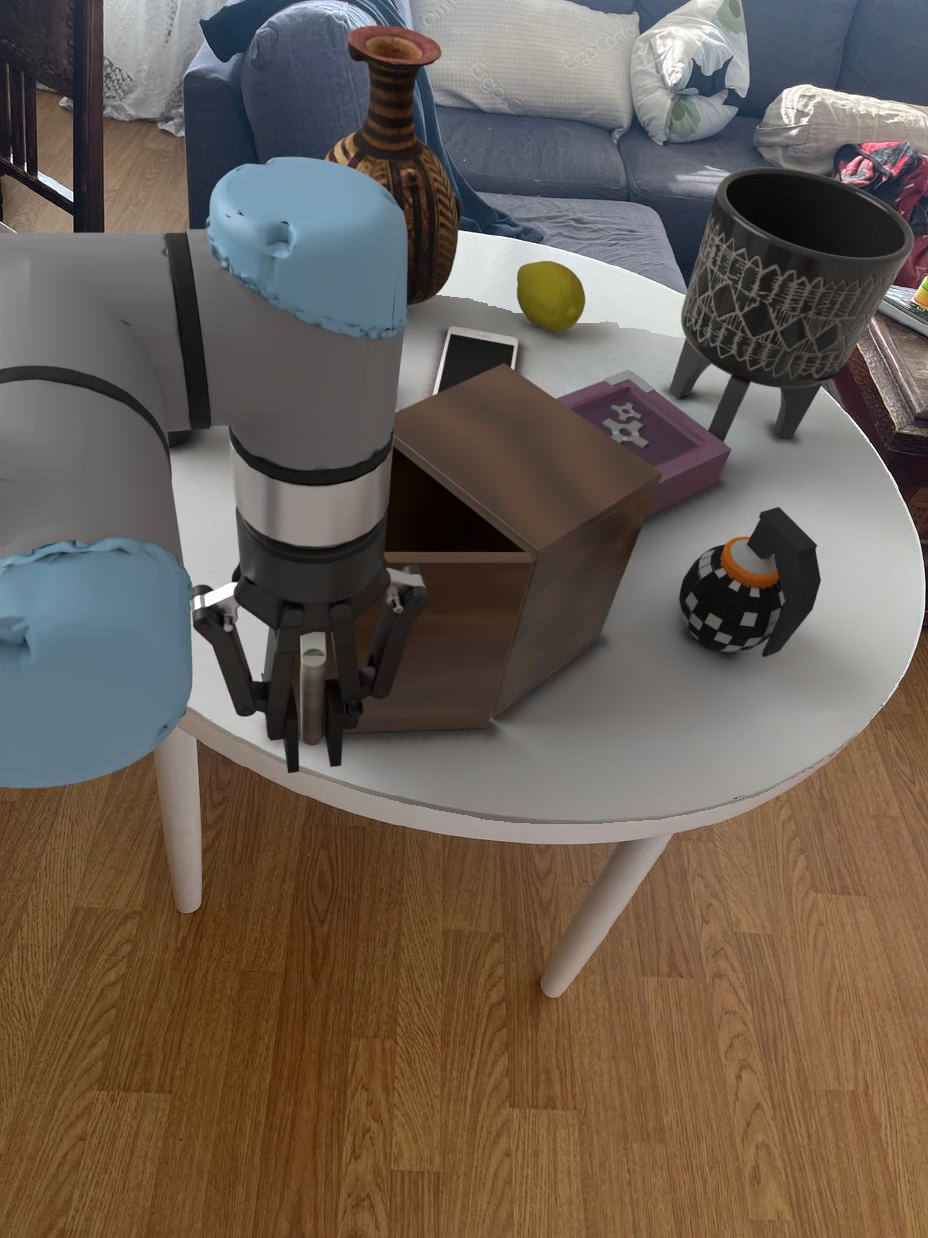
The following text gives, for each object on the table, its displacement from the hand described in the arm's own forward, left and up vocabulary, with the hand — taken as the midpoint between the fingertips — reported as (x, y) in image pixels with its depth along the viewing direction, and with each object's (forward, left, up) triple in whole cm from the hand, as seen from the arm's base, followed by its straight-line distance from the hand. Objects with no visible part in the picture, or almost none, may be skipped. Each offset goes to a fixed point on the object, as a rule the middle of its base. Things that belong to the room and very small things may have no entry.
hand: (312, 752), depth 62 cm
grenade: (+41, +9, -8) cm, 42 cm away
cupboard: (+19, +15, -8) cm, 25 cm away
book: (+36, +33, -8) cm, 50 cm away
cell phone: (+30, +52, -8) cm, 60 cm away
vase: (+22, +69, -8) cm, 73 cm away
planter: (+57, +39, -8) cm, 69 cm away
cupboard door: (+7, +3, -7) cm, 10 cm away
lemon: (+43, +63, -8) cm, 76 cm away
